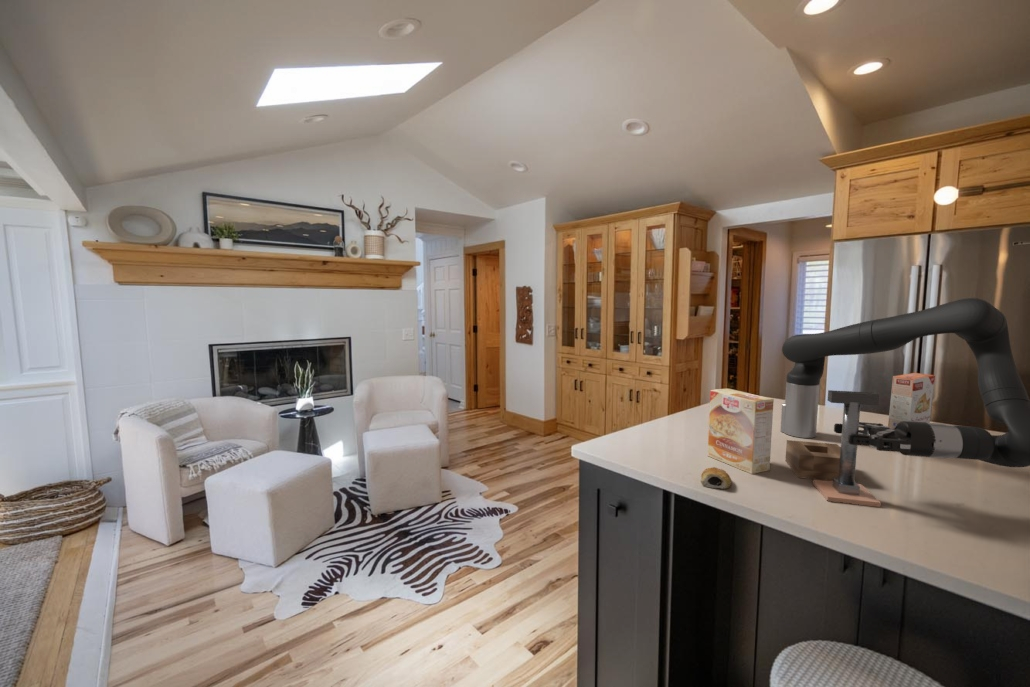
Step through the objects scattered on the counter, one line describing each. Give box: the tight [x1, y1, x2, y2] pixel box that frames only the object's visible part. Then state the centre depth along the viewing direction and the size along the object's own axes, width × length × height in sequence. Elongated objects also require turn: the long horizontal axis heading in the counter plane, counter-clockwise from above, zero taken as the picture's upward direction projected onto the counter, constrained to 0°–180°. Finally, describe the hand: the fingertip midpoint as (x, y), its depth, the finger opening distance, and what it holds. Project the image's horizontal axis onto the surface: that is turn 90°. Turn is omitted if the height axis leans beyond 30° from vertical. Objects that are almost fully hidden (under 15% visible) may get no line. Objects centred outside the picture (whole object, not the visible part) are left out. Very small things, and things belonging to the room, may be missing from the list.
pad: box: [812, 479, 882, 508], centre depth 106 cm, size 10×10×1 cm
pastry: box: [700, 466, 732, 490], centre depth 114 cm, size 9×7×4 cm
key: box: [827, 389, 880, 495], centre depth 105 cm, size 9×4×23 cm, turn 73°
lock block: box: [785, 439, 841, 482], centre depth 120 cm, size 12×12×6 cm
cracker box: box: [887, 372, 936, 429], centre depth 144 cm, size 14×6×21 cm, turn 118°
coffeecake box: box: [707, 388, 775, 475], centre depth 125 cm, size 15×7×20 cm, turn 23°
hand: (841, 433), depth 105 cm, fingers open, 8 cm apart
